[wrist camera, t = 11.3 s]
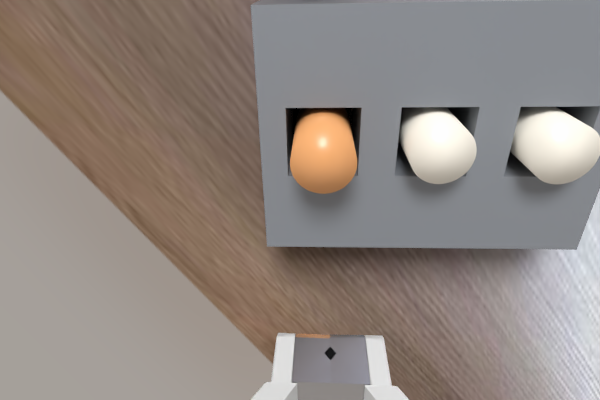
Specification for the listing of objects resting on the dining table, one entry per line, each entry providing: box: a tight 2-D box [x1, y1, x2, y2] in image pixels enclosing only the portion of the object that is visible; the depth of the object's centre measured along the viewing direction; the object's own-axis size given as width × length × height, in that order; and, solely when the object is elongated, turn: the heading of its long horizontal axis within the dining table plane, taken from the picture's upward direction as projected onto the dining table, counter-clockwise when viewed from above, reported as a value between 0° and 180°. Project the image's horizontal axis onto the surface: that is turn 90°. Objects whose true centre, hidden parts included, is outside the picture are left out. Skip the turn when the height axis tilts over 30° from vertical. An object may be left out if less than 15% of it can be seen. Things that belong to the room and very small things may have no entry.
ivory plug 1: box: [398, 107, 477, 184], centre depth 27 cm, size 4×4×7 cm
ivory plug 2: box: [510, 107, 600, 184], centre depth 27 cm, size 4×4×7 cm
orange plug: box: [290, 108, 357, 194], centre depth 26 cm, size 4×4×7 cm
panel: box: [251, 0, 600, 249], centre depth 28 cm, size 22×16×6 cm
